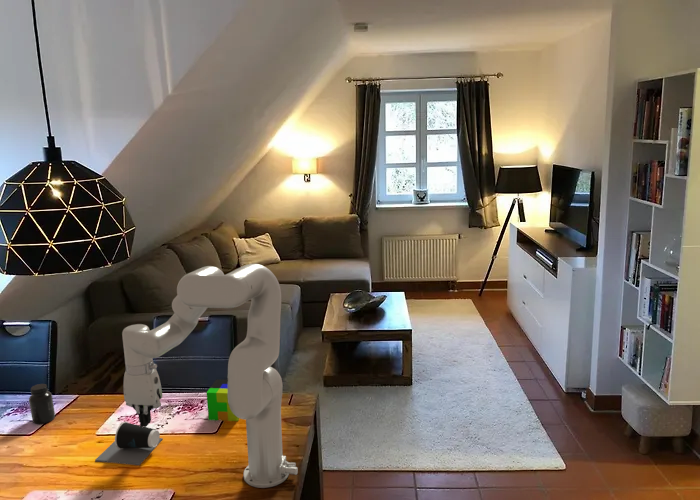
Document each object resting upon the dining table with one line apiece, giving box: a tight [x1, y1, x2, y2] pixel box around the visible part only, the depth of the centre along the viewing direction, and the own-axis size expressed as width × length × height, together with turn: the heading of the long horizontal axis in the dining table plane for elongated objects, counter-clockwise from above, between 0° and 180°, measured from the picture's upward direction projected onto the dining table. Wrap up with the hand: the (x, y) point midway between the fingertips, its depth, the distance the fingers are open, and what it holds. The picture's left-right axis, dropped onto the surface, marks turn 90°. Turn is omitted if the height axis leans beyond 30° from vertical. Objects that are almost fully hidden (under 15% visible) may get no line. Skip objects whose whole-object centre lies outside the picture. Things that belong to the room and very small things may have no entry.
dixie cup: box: [114, 421, 161, 449], centre depth 175 cm, size 8×8×11 cm
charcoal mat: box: [95, 437, 164, 466], centre depth 176 cm, size 14×14×1 cm
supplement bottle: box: [28, 383, 56, 425], centre depth 194 cm, size 7×7×12 cm
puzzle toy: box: [206, 378, 240, 422], centre depth 197 cm, size 10×10×10 cm
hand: (145, 424), depth 173 cm, fingers closed
